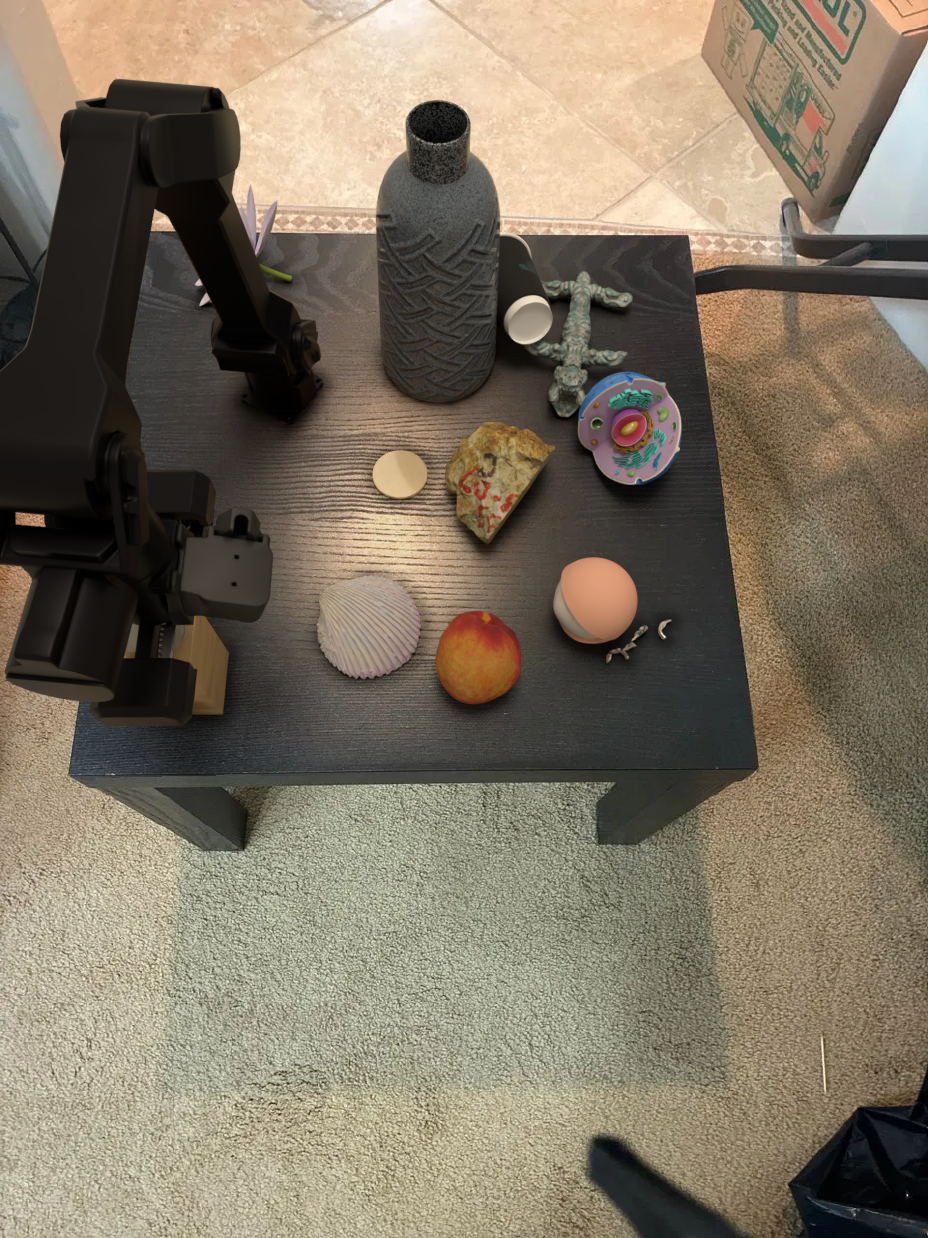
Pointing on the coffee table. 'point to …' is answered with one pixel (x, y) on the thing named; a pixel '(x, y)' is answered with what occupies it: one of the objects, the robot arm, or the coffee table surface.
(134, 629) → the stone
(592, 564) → the toy ball
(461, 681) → the fruit
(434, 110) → the vase
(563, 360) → the sculpture
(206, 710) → the stand
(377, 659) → the seashell
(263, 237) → the water lily
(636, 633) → the toy
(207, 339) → the coffee table surface
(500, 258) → the dixie cup
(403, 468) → the coaster
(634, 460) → the cell model
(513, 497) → the rock
